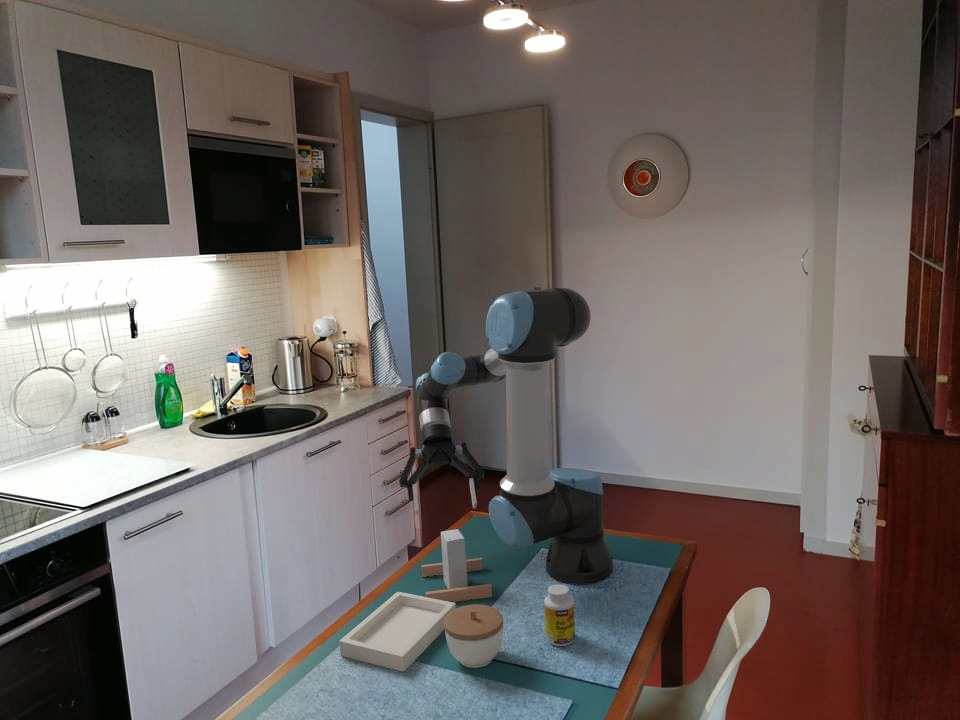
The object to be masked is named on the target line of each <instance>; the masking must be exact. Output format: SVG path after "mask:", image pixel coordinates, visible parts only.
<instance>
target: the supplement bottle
mask: <svg viewBox="0 0 960 720" xmlns="http://www.w3.org/2000/svg"><path fill="white" fill-rule="evenodd" d="M543 601H544V603H543V605H544V607H543V608H544V624H545V625H544V627H545V639H546V641H547V642H548V643H549V644H550V645H553V646H555V647H565V646H569V645H571V644H572V643H573V642H574V641H575V639H576V625H575V624H576V623H575V622H576V621H575V600H574V598H573V597H572V596H571V593H570V588H569V586H567V585H564V584H553V585H550V586H549V587H548V588H547V596H546V597H545V598H544V600H543Z"/></svg>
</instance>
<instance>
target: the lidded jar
mask: <svg viewBox="0 0 960 720" xmlns="http://www.w3.org/2000/svg"><path fill="white" fill-rule="evenodd" d="M444 628H445V629H444V634H445V640H446V644H447V646H448V650H449V651H450V653H451V655H452V656H453V657H454V658H455V659H456V660H457V661H458V662H459V663H460V664H461V665H462V666H463V667H466V668H469V669H479V668H483V667H486V666H488V665H489V664H490V663H491V662H492V661H493V659H494V658H495V657H496V656H497V655H498V653H499V651H500V649H501V647H502V643H503V637H504V617H503V615H502V613H501V612H500V611H499V610H498V609H497V608H495V607H492V606H490V605H486V604H468V605H463V606H460V607H456V609H454V610H453V611H451V612H450V613H449V614H448V615H447V616H446V617H445V620H444Z"/></svg>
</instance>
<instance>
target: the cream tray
mask: <svg viewBox="0 0 960 720" xmlns="http://www.w3.org/2000/svg"><path fill="white" fill-rule="evenodd" d="M454 609H457V603H456V602H448V601H443V600H438V599H433V598H428V597H426V596H422V595H417V594H412V593H407V592H401V591H396V592H395V593H394V594H393V595H392V596H391V597H390V598H388V599H387V600H386V601H384V602H383V603H382V604H381V605H379V607H377V608H376V609H375V610H374V611H373V612H371V613H370V614H369V615H368V616H367V617H366V618H364V619H363V620H362V621H361V622H360V623H358V624H357V625H356V626H355V627H354V628H353V629H351V630H350V631H349V632H348V633H347V634H345V635H344V636H343V637H342V638H341V639H340V640H338V646H339V653H340V655H339V656H341V657H345V658H347V659H352V660H355V661H360V662H363V663H368V664H370V665H371V664H372V665H374V666H375V665H376V666H379V667H382V668H387V669H391V670H395V671H399V672H403V673H404V672H405V671H406V670H407V669H409V667H410V666H411V665H412V664H413V663H414V662H415V661H416V660H417V659H418V658H419V657H420V655H421V654H423V653H424V651H425V650H426V649H428V647H429V646H430V645H431V644H432V643H434V641H435V640H436V639H437V638H438V637H439V636H440V635H441V633H442V632H443V631H445V628H444V620H445V617H446V616H447V615H448V614H449V613H450V612H451V611H453V610H454Z"/></svg>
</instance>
